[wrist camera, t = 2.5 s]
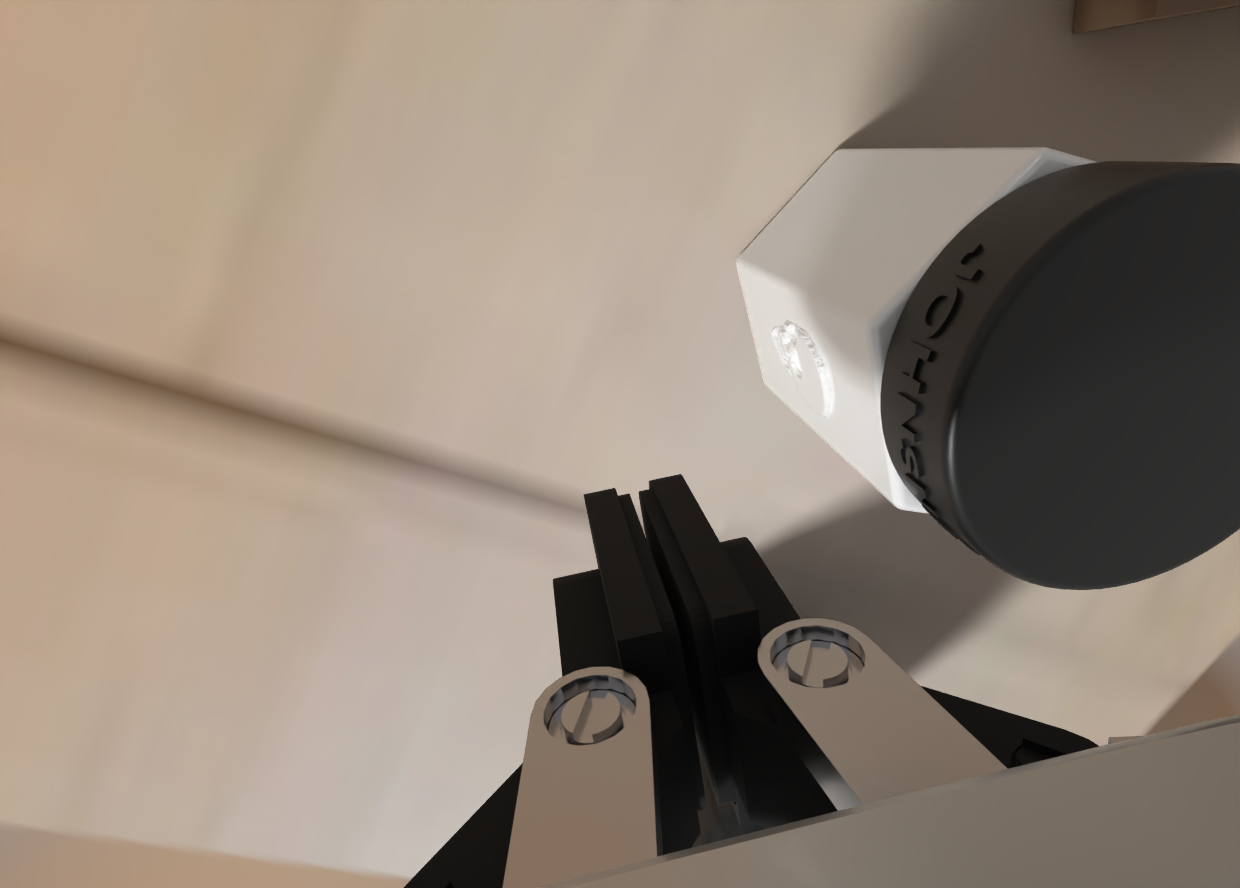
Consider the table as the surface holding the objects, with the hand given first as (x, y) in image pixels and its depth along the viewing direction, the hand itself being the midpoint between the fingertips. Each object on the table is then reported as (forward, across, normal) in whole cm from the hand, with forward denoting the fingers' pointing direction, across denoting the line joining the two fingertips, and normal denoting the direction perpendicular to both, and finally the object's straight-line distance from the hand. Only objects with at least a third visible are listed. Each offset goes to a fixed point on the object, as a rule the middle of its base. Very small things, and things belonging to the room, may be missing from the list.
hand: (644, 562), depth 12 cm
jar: (+12, -10, -1) cm, 16 cm away
